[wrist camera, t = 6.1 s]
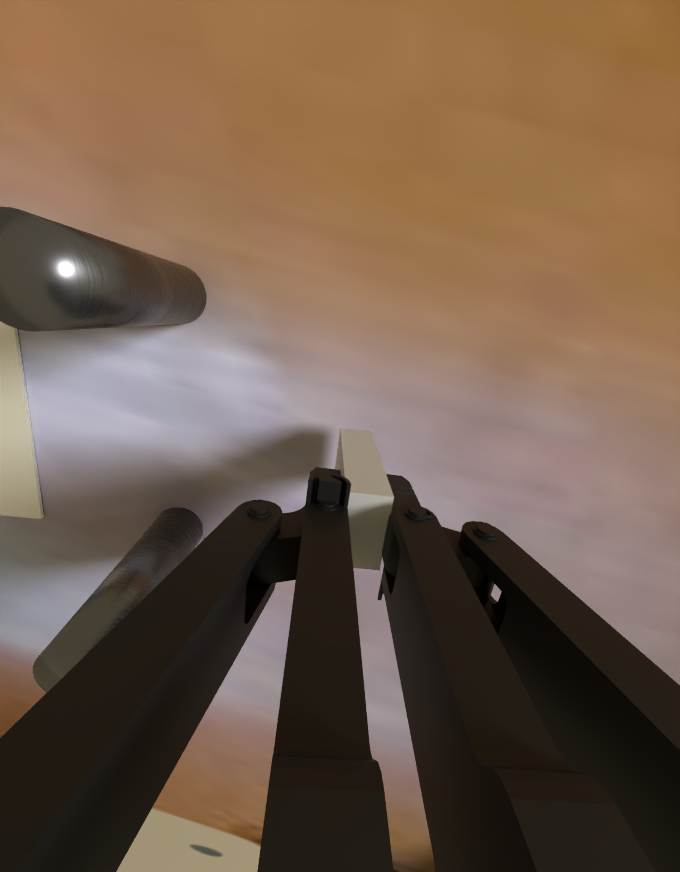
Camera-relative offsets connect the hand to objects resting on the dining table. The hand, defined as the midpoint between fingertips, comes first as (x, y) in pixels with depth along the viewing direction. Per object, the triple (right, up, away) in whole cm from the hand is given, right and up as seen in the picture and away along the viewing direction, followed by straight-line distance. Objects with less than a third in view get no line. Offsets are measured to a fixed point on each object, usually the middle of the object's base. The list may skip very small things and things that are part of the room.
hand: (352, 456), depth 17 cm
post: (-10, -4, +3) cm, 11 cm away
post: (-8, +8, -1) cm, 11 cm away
